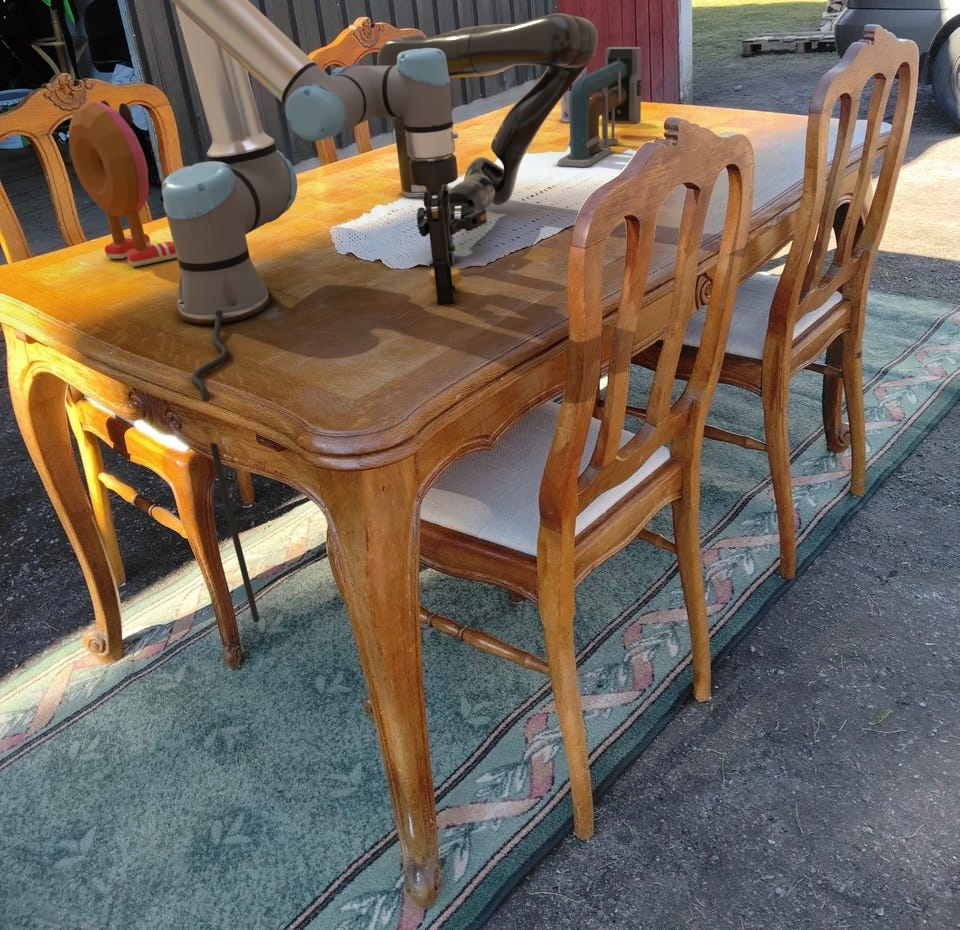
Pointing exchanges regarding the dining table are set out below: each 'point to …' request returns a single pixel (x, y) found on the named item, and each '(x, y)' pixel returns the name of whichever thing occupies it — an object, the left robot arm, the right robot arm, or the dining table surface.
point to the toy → (115, 178)
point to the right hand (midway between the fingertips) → (435, 231)
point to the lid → (454, 272)
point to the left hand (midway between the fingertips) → (446, 296)
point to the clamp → (603, 105)
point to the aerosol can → (565, 99)
